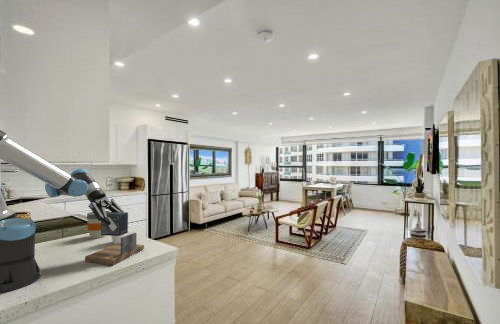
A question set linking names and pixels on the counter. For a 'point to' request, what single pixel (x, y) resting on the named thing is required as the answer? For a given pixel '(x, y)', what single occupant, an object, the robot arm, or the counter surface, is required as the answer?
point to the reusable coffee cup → (94, 226)
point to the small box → (119, 220)
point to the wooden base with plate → (116, 251)
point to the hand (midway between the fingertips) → (120, 227)
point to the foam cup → (117, 238)
